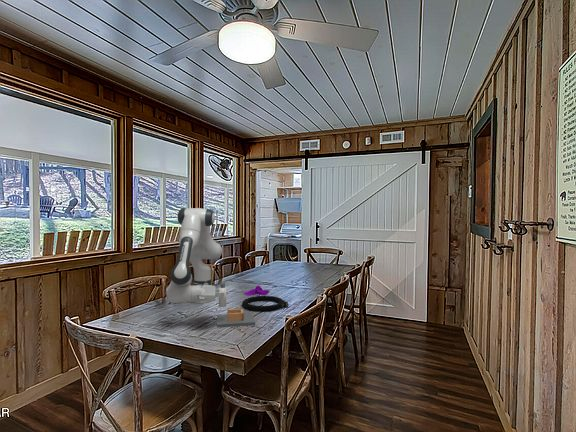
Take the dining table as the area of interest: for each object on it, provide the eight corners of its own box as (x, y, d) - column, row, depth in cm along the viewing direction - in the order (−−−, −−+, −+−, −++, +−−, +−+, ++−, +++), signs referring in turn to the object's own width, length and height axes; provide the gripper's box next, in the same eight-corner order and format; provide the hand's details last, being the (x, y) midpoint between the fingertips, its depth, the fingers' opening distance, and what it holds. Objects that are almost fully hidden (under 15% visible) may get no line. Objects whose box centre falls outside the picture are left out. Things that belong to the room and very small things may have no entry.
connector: (217, 305, 178) (217, 281, 177) (224, 304, 180) (224, 280, 180) (220, 307, 174) (220, 283, 174) (227, 306, 177) (227, 282, 176)
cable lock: (249, 293, 227) (292, 296, 221) (249, 299, 227) (292, 302, 221) (235, 305, 200) (283, 308, 194) (235, 311, 200) (283, 314, 194)
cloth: (240, 296, 236) (240, 287, 236) (248, 290, 254) (249, 282, 254) (270, 298, 231) (270, 289, 231) (276, 291, 249) (276, 283, 249)
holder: (217, 327, 171) (217, 317, 171) (216, 317, 186) (216, 308, 186) (255, 324, 175) (255, 314, 175) (251, 315, 191) (251, 306, 191)
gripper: (196, 292, 164) (224, 291, 167) (198, 283, 184) (223, 282, 187) (196, 305, 164) (224, 303, 167) (198, 294, 184) (223, 293, 187)
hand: (224, 292), depth 177 cm, fingers closed on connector, 4 cm apart
